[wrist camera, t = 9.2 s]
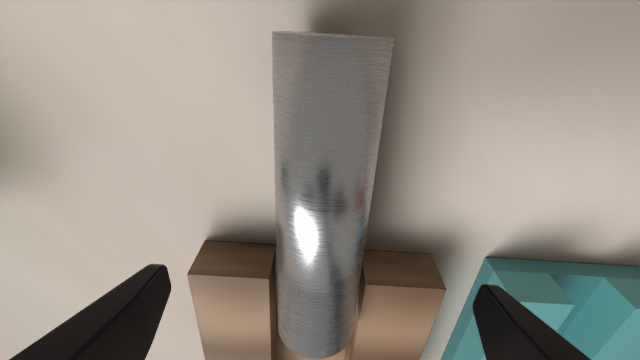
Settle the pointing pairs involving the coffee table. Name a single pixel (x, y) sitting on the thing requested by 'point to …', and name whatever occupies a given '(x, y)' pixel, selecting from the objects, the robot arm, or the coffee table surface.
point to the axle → (324, 178)
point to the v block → (562, 305)
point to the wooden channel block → (262, 304)
